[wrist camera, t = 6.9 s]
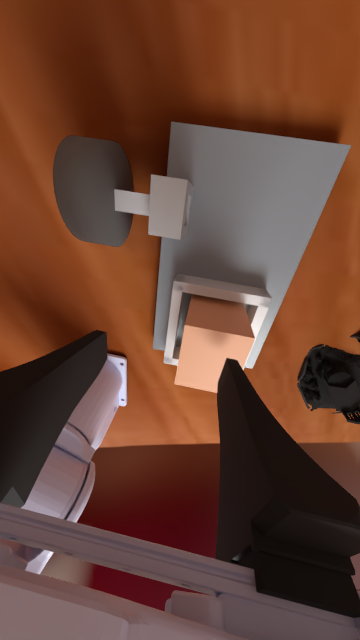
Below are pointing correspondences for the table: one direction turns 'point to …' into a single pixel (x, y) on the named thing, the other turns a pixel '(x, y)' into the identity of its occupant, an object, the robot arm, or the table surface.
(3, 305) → the table surface
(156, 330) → the chassis
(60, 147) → the wheel
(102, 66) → the table surface
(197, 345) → the tan rectangular block
